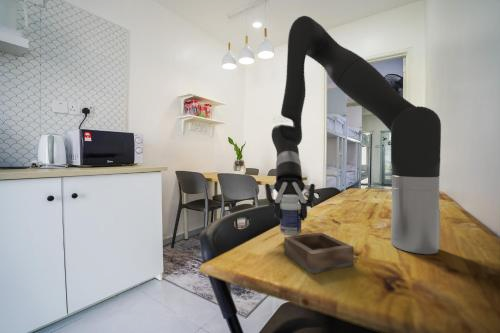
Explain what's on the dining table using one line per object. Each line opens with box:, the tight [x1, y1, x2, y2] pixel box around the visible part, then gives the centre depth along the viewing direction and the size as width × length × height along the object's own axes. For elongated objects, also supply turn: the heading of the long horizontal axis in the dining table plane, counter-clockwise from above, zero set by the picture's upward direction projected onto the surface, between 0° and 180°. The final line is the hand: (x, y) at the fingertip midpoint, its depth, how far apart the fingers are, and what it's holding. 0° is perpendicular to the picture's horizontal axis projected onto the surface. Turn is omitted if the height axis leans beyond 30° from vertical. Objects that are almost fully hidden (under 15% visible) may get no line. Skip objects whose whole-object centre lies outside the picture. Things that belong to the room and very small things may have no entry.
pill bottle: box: [279, 194, 302, 237], centre depth 58 cm, size 5×5×10 cm
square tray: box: [283, 232, 355, 274], centre depth 48 cm, size 10×10×4 cm
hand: (291, 218), depth 56 cm, fingers closed on pill bottle, 5 cm apart
